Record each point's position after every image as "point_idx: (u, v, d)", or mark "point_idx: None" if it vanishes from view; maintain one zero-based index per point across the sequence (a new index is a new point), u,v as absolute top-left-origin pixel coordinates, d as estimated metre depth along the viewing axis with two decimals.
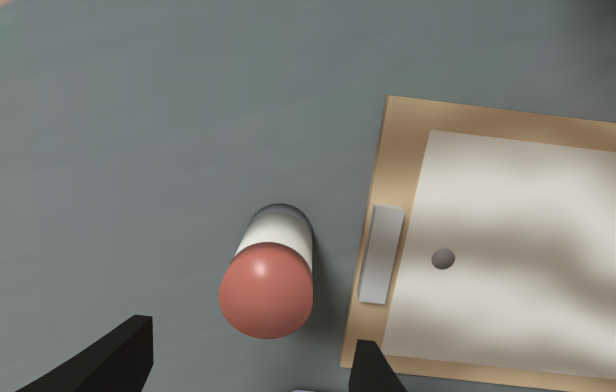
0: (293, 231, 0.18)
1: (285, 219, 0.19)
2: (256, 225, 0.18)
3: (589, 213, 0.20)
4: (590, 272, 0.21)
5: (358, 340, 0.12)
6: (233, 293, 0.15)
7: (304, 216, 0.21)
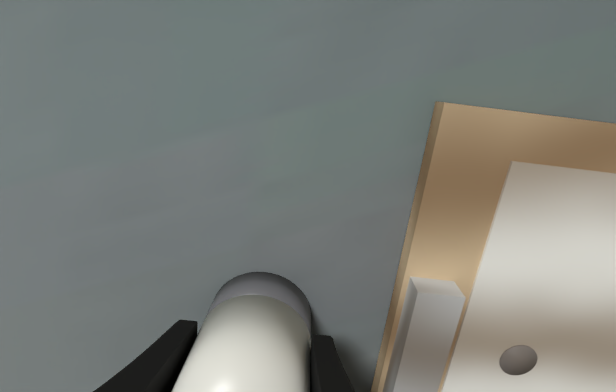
0: (277, 343, 0.10)
1: (264, 313, 0.11)
2: (214, 326, 0.11)
3: None
4: None
5: (313, 335, 0.12)
6: None
7: (298, 293, 0.13)
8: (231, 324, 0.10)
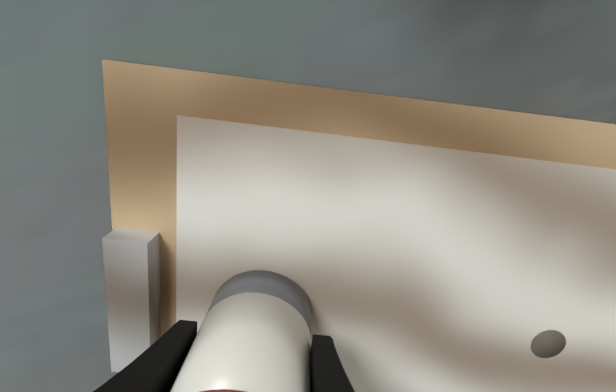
0: (277, 341, 0.10)
1: (264, 311, 0.11)
2: (214, 324, 0.11)
3: (444, 243, 0.13)
4: (457, 328, 0.14)
5: (313, 335, 0.12)
6: None
7: (298, 291, 0.13)
8: (231, 322, 0.10)
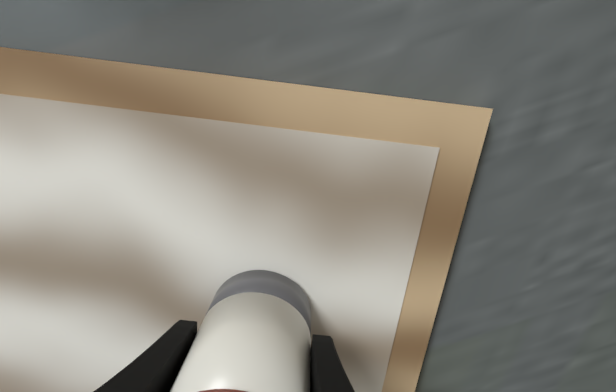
0: (277, 340, 0.10)
1: (264, 311, 0.11)
2: (214, 324, 0.11)
3: (159, 210, 0.13)
4: (196, 299, 0.14)
5: (313, 335, 0.12)
6: None
7: (298, 290, 0.13)
8: (231, 321, 0.10)
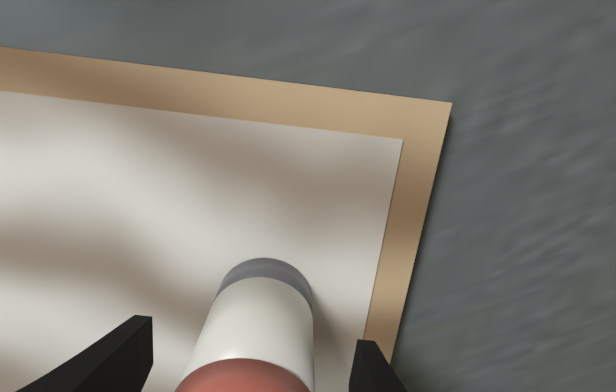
0: (284, 319, 0.11)
1: (271, 293, 0.12)
2: (225, 305, 0.12)
3: (139, 200, 0.14)
4: (177, 285, 0.15)
5: (358, 340, 0.12)
6: None
7: (300, 276, 0.14)
8: (241, 302, 0.11)
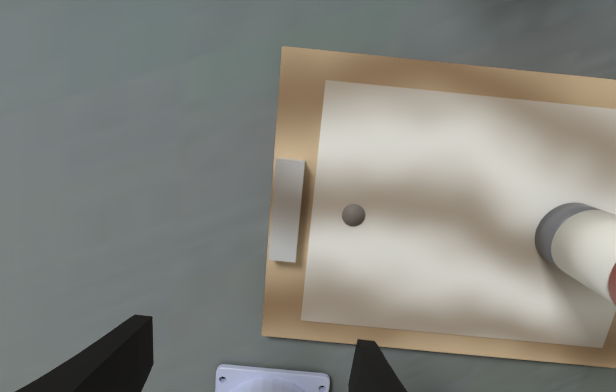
0: None
1: None
2: (594, 222, 0.18)
3: (494, 163, 0.20)
4: (504, 226, 0.21)
5: (358, 340, 0.12)
6: None
7: None
8: (609, 219, 0.17)
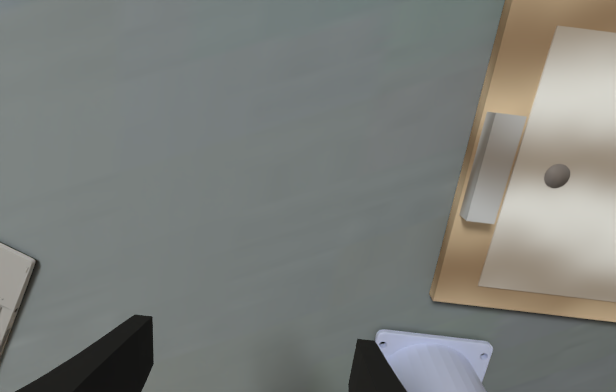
0: None
1: None
2: None
3: None
4: None
5: (358, 340, 0.12)
6: None
7: None
8: None
